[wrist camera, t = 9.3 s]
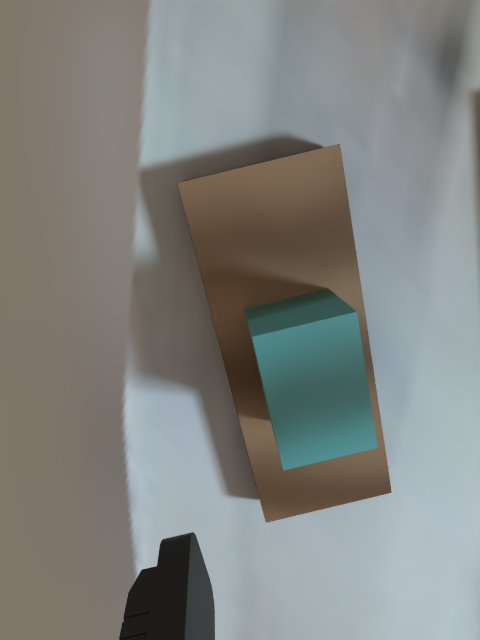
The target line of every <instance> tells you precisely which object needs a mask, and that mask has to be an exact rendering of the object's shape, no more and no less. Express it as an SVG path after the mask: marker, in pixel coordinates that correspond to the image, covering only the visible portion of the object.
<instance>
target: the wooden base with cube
mask: <svg viewBox="0 0 480 640" xmlns="http://www.w3.org/2000/svg"><path fill="white" fill-rule="evenodd" d="M178 187H179V191H180V195H181V199H182V203H183V206H184V210H185V214H186V218H187V222H188V226H189V229H190V233H191V237H192V241H193V245H194V249H195V252H196V256H197V260H198V264H199V268H200V272H201V275H202V279H203V283H204V287H205V291H206V295H207V299H208V302H209V306H210V310H211V314H212V318H213V322H214V325H215V329H216V333H217V337H218V341H219V345H220V348H221V352H222V356H223V360H224V364H225V368H226V371H227V375H228V379H229V383H230V387H231V391H232V394H233V398H234V402H235V406H236V410H237V414H238V417H239V421H240V425H241V429H242V433H243V437H244V441H245V444H246V448H247V452H248V456H249V460H250V464H251V467H252V471H253V475H254V479H255V483H256V487H257V490H258V494H259V498H260V502H261V506H262V510H263V513H264V517H265V521H266V522H270V521H275V520H279V519H283V518H287V517H291V516H296V515H300V514H304V513H308V512H312V511H316V510H321V509H325V508H329V507H333V506H337V505H342V504H346V503H350V502H354V501H358V500H362V499H367V498H371V497H375V496H379V495H383V494H387V493H391V486H390V479H389V472H388V466H387V459H386V452H385V445H384V439H383V432H382V425H381V418H380V412H379V405H378V398H377V391H376V385H375V378H374V371H373V364H372V358H371V351H370V344H369V337H368V331H367V324H366V317H365V310H364V304H363V297H362V290H361V283H360V277H359V270H358V263H357V256H356V250H355V243H354V236H353V229H352V223H351V216H350V209H349V202H348V196H347V189H346V182H345V175H344V169H343V162H342V155H341V148H340V144H337V145H333V146H329V147H325V148H321V149H316V150H312V151H308V152H304V153H300V154H296V155H292V156H287V157H283V158H279V159H275V160H271V161H267V162H262V163H258V164H254V165H250V166H246V167H242V168H238V169H233V170H229V171H225V172H221V173H217V174H213V175H208V176H204V177H200V178H196V179H192V180H188V181H184V182H179V183H178Z"/></svg>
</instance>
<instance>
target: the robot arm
mask: <svg viewBox="0 0 480 640" xmlns="http://www.w3.org/2000/svg"><path fill="white" fill-rule="evenodd" d="M119 639H120V640H215V610H214V598H213V591H212V586H211V582H210V578H209V575H208V572H207V569H206V566H205V563H204V559H203V556H202V553H201V550H200V547H199V544H198V541H197V538H196V535H195V534H194V533H193V532H192V533H188V534H184V535H179V536H175V537H171V538H166V539H163V540H162V541H161V544H160V550H159V556H158V563H157V566H156V567H152V568H147V569H143V570H141V572H140V574H139V576H138V577H137V579H136V581H135V583H134V584H133V586H132V588H131V589H130V591H129V593H128V598H127V603H126V608H125V613H124V622H123V623H122V628H121V633H120V637H119Z"/></svg>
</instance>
